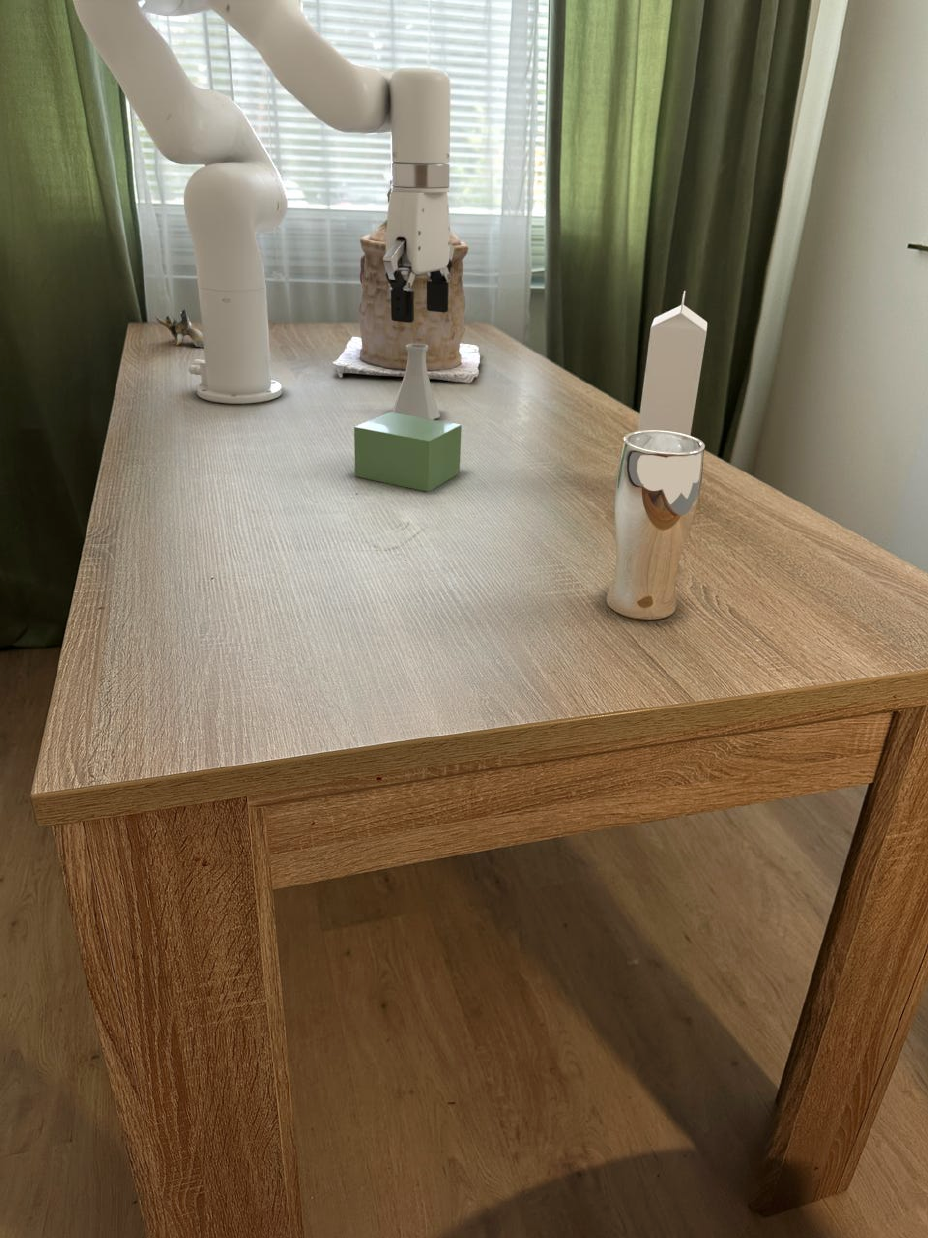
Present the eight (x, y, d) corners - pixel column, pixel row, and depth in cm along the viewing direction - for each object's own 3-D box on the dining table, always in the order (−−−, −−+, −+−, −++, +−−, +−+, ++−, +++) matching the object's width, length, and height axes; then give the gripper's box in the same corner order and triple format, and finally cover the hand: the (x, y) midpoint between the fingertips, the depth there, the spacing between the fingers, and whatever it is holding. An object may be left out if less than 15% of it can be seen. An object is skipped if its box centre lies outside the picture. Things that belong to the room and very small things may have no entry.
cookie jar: (479, 385, 152) (490, 169, 137) (330, 378, 152) (324, 161, 137) (480, 353, 173) (489, 164, 158) (350, 347, 173) (346, 157, 158)
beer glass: (594, 587, 85) (612, 428, 78) (667, 587, 86) (692, 429, 79) (611, 623, 79) (632, 453, 72) (690, 622, 79) (719, 454, 72)
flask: (434, 424, 130) (436, 352, 125) (385, 420, 131) (385, 348, 126) (445, 411, 136) (447, 342, 132) (398, 407, 137) (398, 338, 133)
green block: (354, 476, 109) (353, 426, 107) (389, 458, 116) (389, 411, 113) (428, 492, 106) (429, 441, 103) (460, 473, 112) (461, 424, 109)
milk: (629, 491, 109) (653, 296, 98) (633, 475, 114) (656, 288, 104) (682, 497, 108) (711, 300, 97) (683, 480, 113) (711, 291, 102)
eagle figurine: (149, 337, 168) (182, 335, 164) (159, 301, 169) (191, 297, 164) (182, 355, 175) (214, 353, 170) (191, 320, 176) (223, 317, 171)
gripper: (427, 176, 127) (427, 305, 135) (359, 179, 114) (363, 322, 122) (476, 178, 125) (472, 310, 132) (412, 181, 111) (412, 328, 119)
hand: (420, 316), depth 127 cm, fingers open, 9 cm apart
